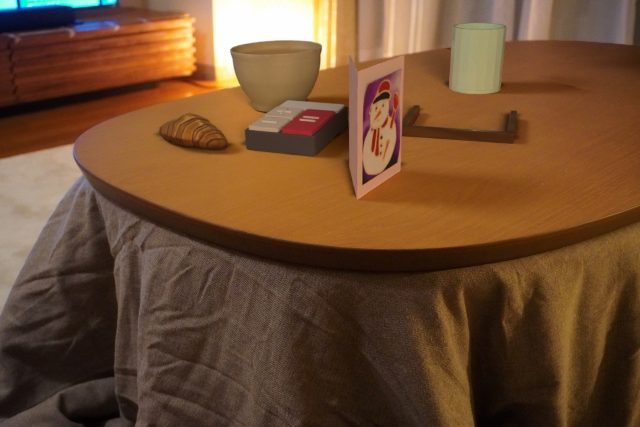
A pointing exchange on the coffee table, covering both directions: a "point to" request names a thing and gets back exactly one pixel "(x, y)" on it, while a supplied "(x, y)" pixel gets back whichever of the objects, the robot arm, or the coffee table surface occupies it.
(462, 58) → the cup
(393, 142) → the greeting card
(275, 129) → the calculator
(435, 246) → the coffee table surface
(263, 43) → the planter bowl
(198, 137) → the croissant
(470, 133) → the bay
